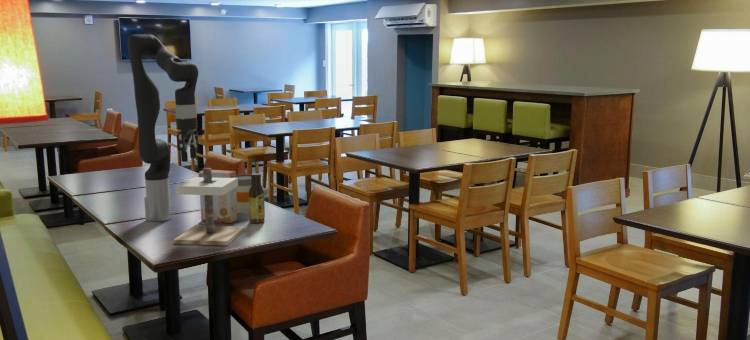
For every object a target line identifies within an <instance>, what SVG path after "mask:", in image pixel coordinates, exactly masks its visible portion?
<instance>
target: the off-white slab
mask: <svg viewBox="0 0 750 340" xmlns="http://www.w3.org/2000/svg"><path fill="white" fill-rule="evenodd" d="M237 186H238V178H212V184H209V183H204V178H203V177H199V176H195V177H192V178H190V179H188V180H186V181H184V182H182V183H179V184H177V185H176V186H175V190H176V192H175V193H176V195H186V196H187V195H190V196H191V195H194V196H195V195H196V196H200V195H224V194H225V193H227V192H229V191H230V190H232V189H234V188H235V187H237Z"/></svg>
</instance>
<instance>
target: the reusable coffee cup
mask: <svg viewBox="0 0 750 340" xmlns="http://www.w3.org/2000/svg"><path fill="white" fill-rule="evenodd" d="M236 178H238V186H237V187H236V195H237V214H238V213H239V214H247V213H248V214H249V189H250V187H251V186H252V184H251V183H252V179H251V174H247V173H245V174H236Z"/></svg>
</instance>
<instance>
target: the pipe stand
mask: <svg viewBox="0 0 750 340" xmlns="http://www.w3.org/2000/svg"><path fill="white" fill-rule="evenodd" d="M212 170H213V169H212V168H211V167H204V168H202V171H203V178H204V183H209V184H212ZM204 197H205V216H206V221H205V225H204V224H202V225H201V224H200V225H199V224H195V225H192V227H191V228H189V229H187V230H186V231H185V232H183V233H182V234H180V235H179V236H177V237H175V238H174V239H173V244H174V245H175V244H176V245H197V246H198V245H204V246H228V245H230V243H232V242H233V241H235V239H237V238H238V237H239V236H240V235H241V234H242V233H243V232H245V231H246V227H245V226H243V225H242V226H239V225H238V226H237V225H236V226H234V225H215V222H214V210H213V195H204Z"/></svg>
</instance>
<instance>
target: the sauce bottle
mask: <svg viewBox="0 0 750 340" xmlns="http://www.w3.org/2000/svg"><path fill="white" fill-rule="evenodd" d="M250 175H251V179H252V183H251V184H252V186H251V187H250V189H249V213H248V216H249V217H248V218H249V222H250V223H251V224H260V223H264V222H265V217H266V215H265V214H266V213H265V211H266V210H265V207H266V206H265V192H264V188H263V187H262V182H261V181H262V180H261V179H262V173H257V172H256V173H251V174H250Z"/></svg>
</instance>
